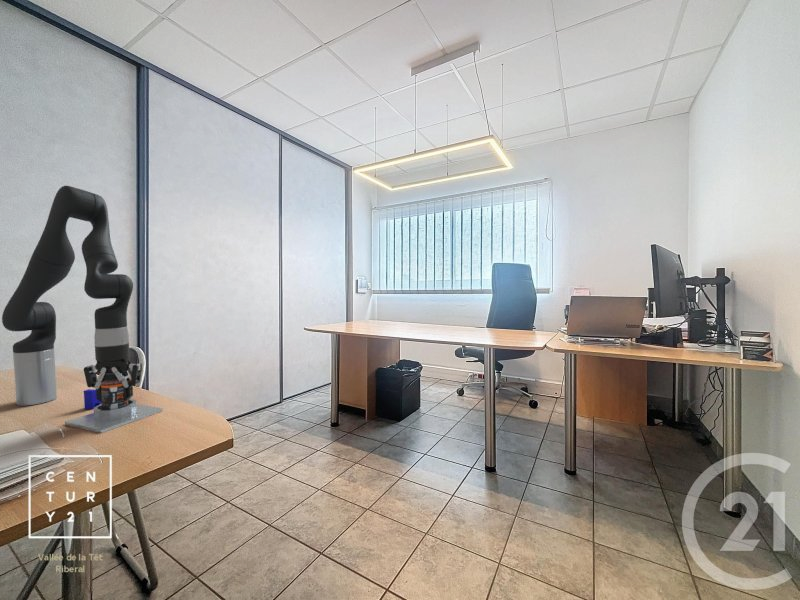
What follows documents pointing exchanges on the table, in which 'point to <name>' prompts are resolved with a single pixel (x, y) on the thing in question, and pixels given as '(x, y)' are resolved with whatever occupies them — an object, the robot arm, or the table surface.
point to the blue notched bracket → (90, 399)
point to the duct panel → (114, 423)
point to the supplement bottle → (112, 393)
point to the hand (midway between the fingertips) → (115, 399)
